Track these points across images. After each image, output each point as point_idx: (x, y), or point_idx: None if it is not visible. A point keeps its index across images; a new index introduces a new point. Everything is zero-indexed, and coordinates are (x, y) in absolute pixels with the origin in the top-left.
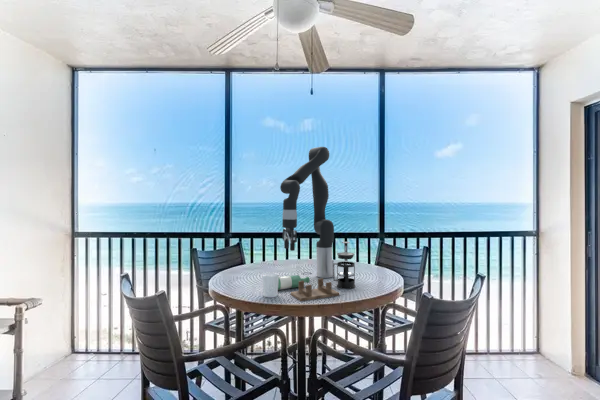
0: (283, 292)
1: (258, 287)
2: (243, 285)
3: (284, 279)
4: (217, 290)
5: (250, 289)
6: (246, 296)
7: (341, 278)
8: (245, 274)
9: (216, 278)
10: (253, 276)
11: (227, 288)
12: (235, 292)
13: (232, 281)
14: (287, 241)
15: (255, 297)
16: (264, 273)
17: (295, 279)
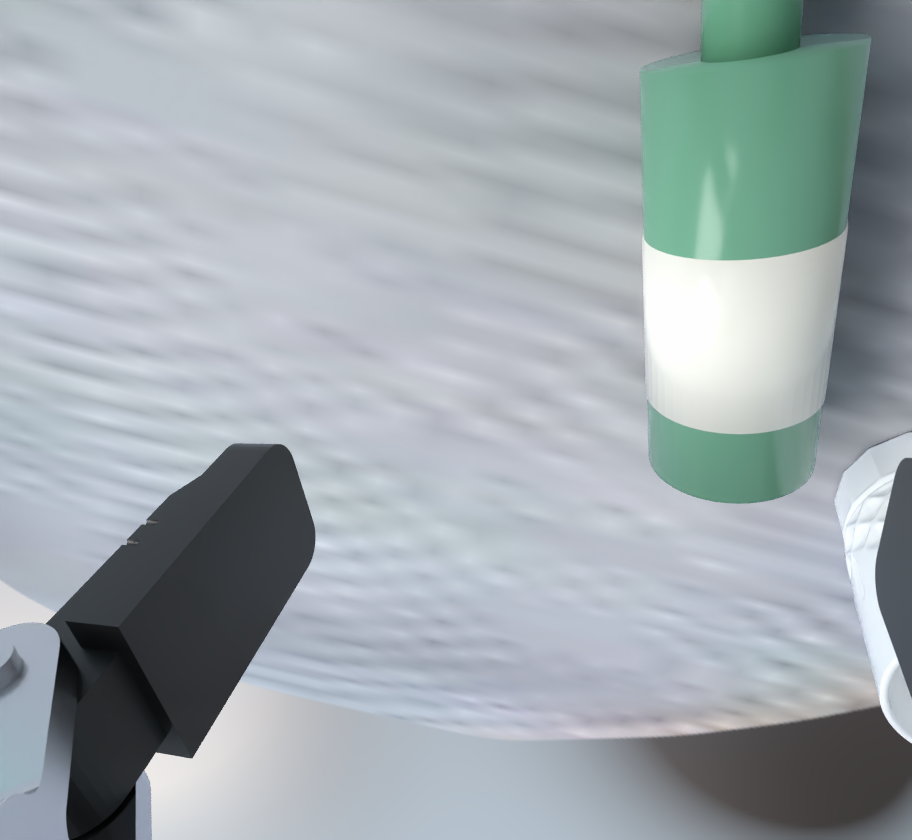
0: (896, 338)
1: (546, 500)
2: (431, 578)
3: (813, 356)
4: (522, 734)
5: (590, 571)
6: (807, 651)
7: None
8: (36, 468)
9: None
10: (109, 428)
11: (489, 680)
12: (634, 674)
13: None
14: (124, 668)
15: None
16: (895, 719)
17: (849, 160)
